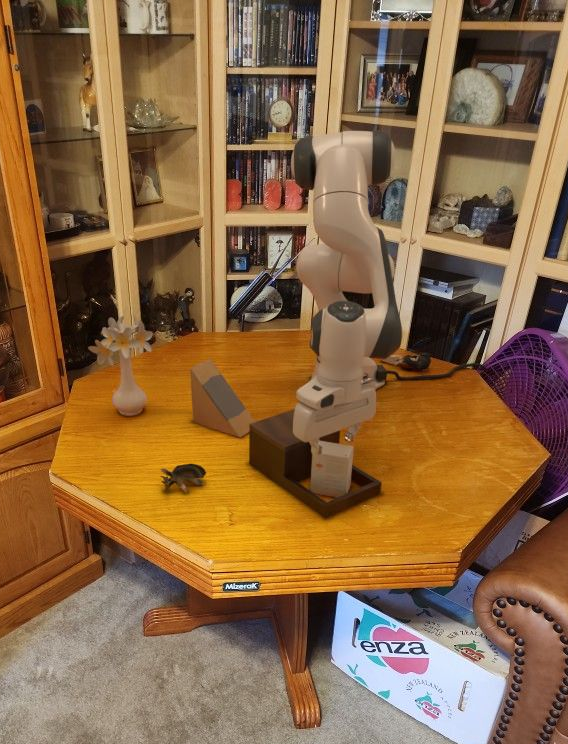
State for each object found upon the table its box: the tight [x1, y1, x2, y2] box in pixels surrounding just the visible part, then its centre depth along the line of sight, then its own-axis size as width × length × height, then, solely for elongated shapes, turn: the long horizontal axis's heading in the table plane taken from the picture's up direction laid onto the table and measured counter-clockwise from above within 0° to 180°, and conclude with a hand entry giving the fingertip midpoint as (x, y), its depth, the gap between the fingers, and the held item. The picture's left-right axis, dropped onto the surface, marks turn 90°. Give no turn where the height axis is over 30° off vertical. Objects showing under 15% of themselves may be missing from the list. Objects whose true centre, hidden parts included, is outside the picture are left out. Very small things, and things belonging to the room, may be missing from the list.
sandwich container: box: [189, 358, 256, 438], centre depth 168 cm, size 9×15×15 cm, turn 56°
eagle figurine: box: [159, 463, 207, 494], centre depth 145 cm, size 8×7×9 cm
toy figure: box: [381, 347, 432, 372], centre depth 203 cm, size 7×6×15 cm
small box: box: [309, 441, 355, 499], centre depth 144 cm, size 8×6×10 cm
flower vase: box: [87, 313, 154, 417], centre depth 171 cm, size 13×18×25 cm
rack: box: [248, 408, 383, 519], centre depth 148 cm, size 16×27×10 cm, turn 36°
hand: (333, 447), depth 140 cm, fingers open, 8 cm apart
